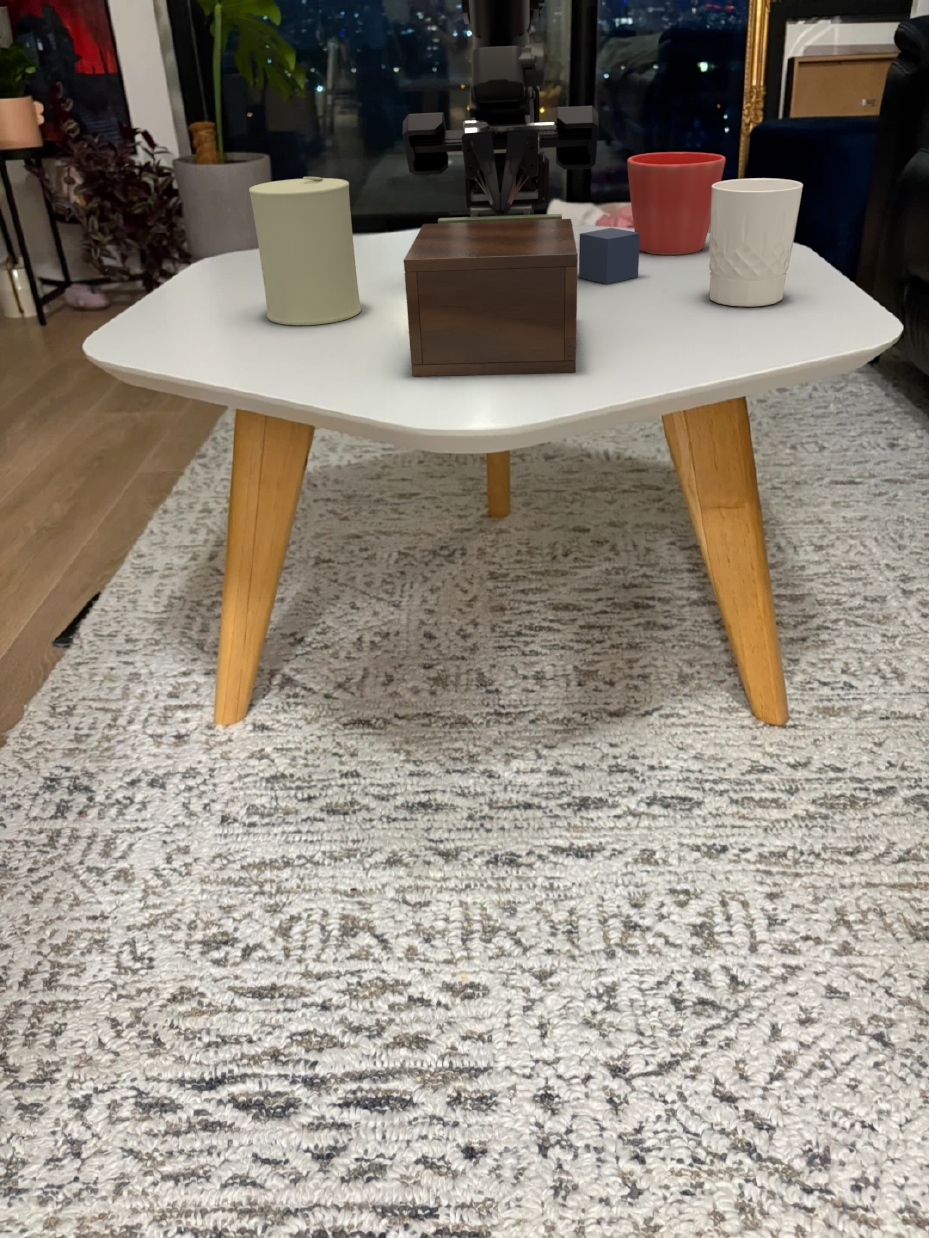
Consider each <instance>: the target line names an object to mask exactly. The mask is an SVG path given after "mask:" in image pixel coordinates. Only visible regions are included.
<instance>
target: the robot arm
mask: <svg viewBox="0 0 929 1238" xmlns="http://www.w3.org/2000/svg"><path fill="white" fill-rule="evenodd" d="M545 2H546V1H545V0H461V12H462V13H461V14H462V17H463V23H464V24H465V25H470V30H471V34H472V36H473V39H472V44H473V45H472V51H471V84H470V86H469V96H468V97H469V100H468V102H469V103H468V110H469V111H468V112H469V117H470V118H471V120H464V121H462V129H447V128H446V120H445V113H444V112H429V113H428V112H426V113H425V112H423V113H408V114H407V115H406V117H405V118H404V120H402V140H403V145H404V152H405V156H406V157H405V158H406V162H407V168H408V172H409V173H411V174H412V175H413V176H415V177H418V176H440V175H442V174H443V173H444V172H445V171H446V170H447V169H449V156H462V157H463V158H462V159H463V170H464V185H465V186H464V188H465V201H466V209H470V207H471V206H491V207H492V209H493V211H494V213H495V216H506V214H507V212H508V210H509V208H510V206H511V205H521V204H532V215H534V206H538V207H539V206H540V207H541V206H542V207H543V205H544V204H548V203H549V202H550V196H549V195H550V157H548V156H547V155H546V154H545V150H544V149H547V148H548V149H549V148H555V163H556V165H557V166H559V167H560V168H561V169H562V170H567V171H568V170H587V169H589V170H590V169H592V168H593V167H594V166H596V164H597V163H596V162H597V152H598V151H597V150H598V138H599V112H598V111H597V109H596V108H595V107H594V106H593V105H583V106H582V105H581V106H580V105H579V106H561V107H560V106H557V107H556V121H547V122H546V121H545V122H540V87H544V86H545V78H546V77H545V75H546V74H545V73H546V68H545V66H546V65H545V64H546V63H545V61H546V60H545V58H546V57H545V42H530V35H531V34H532V21H533V22H534V21H539V18H541V11H542V10H543V9H544V7H545ZM536 190H537V192H535V191H536ZM526 192H527V193H526Z"/></svg>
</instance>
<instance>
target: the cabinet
mask: <svg viewBox="0 0 929 1238" xmlns="http://www.w3.org/2000/svg"><path fill="white" fill-rule="evenodd" d="M576 243H577V242H576V237H575V232H574V227H573V222H572V218H562V219H549V220H522V221H494V222H467V223H439V224H438V223H423V224H422V226H421V228H420V229H419V231H418V233H417V235H416V236H415V238H414V240H413V242H412V244H411V246H410V248H409V250H408V252H407V253H406V255H405V257H404V258H403V270H404V282H405V296H406V299H405V300H406V311H407V324H408V326H407V327H408V337H409V339H408V340H409V351H410V352H409V353H410V364H411V365H410V367H411V376H412V377H436V376H437V377H438V376H439V377H440V376H473V375H476V376H477V375H478V376H479V375H514V374H515V375H517V374H555V373H557V374H559V373H576V372H577V328H578V327H577V325H578V322H577V321H578V316H577V315H578V311H577V310H578V263H579V253H578V249H577V244H576Z"/></svg>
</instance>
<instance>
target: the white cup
mask: <svg viewBox="0 0 929 1238" xmlns="http://www.w3.org/2000/svg"><path fill="white" fill-rule="evenodd" d="M803 188H804V184H803V183H802V182H801V181H797V180H792V179H785V178H772V177H771V178H769V177H767V178H766V177H761V178H760V177H757V178H756V177H755V178H736V179H734V178H733V179H728V180H721V182H717V183H714V184H713V185H712V192H711V218H710V226H709V247H708V248H709V249H708V254H709V262H708V263H709V264H708V268H709V271H710V273H709V275H710V276H709V277H710V278H709V300H711V301H712V302H713V303H716V304H719V305H724V306H730V307H746V308H747V307H764V306H770V305H773V304H774V305H775V304H778V303H779V302H780V301H782V300H783V297H784V290H785V286H786V285H785V284H786V278H787V271H788V269H789V267H790V262H791V257H792V252H793V251H792V250H793V246H794V241H795V235H796V230H797V223H798V217H799V212H800V205H801V201H802V200H801V199H802V192H803Z"/></svg>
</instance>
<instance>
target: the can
mask: <svg viewBox="0 0 929 1238" xmlns="http://www.w3.org/2000/svg"><path fill="white" fill-rule="evenodd" d="M248 192H249V196H250V202H251V206H252V213H253V219H254V225H255V232H256V239H257V246H258V252H259V258H260V266H261V272H262V279H263V286H264V295H265V304H266V318H267V319H268V320H269V321H271V322H273V323H276V324H278V325H279V324H280V325H287V326H317V325H325V324H332V323H337V322H340V321H345V320H348V319H351V318H353V317H355V316H358V315H359V314H360V313H361V312H362V304H361V300H360V293H359V286H358V277H357V266H356V256H355V245H354V236H353V235H354V234H353V224H352V212H351V199H350V183H349V181H348V180H345V179H342V178H341V179H340V178H328V177H320V176H303V177H302V178H293V179H284V180H283V179H282V180H275V181H269V182H263V183H258V184H256V185H253V186H250V187H249V189H248Z"/></svg>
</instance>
